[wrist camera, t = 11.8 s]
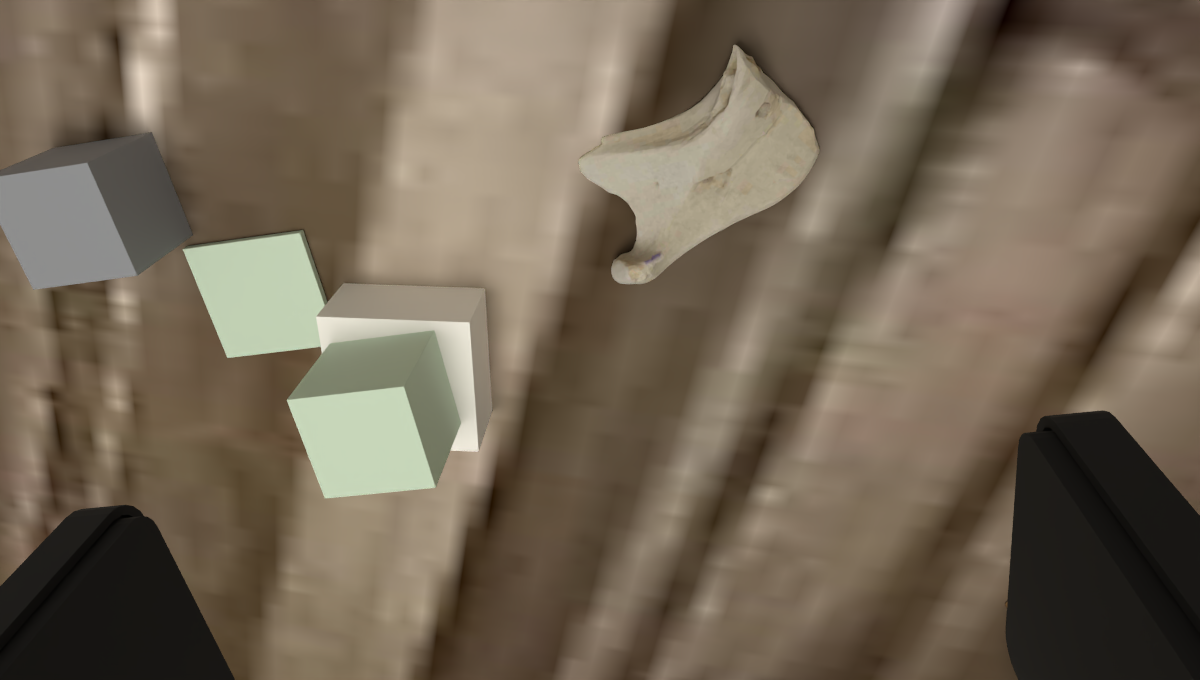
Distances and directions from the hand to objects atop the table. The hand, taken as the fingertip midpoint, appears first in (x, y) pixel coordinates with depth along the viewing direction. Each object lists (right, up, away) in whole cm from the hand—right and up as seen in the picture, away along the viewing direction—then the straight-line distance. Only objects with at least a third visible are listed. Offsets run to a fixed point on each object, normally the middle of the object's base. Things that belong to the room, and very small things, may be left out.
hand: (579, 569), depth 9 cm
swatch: (-16, +5, +33) cm, 37 cm away
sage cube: (-9, 0, +31) cm, 32 cm away
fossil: (+4, +10, +29) cm, 31 cm away
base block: (-9, +2, +34) cm, 35 cm away
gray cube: (-22, +10, +31) cm, 39 cm away
